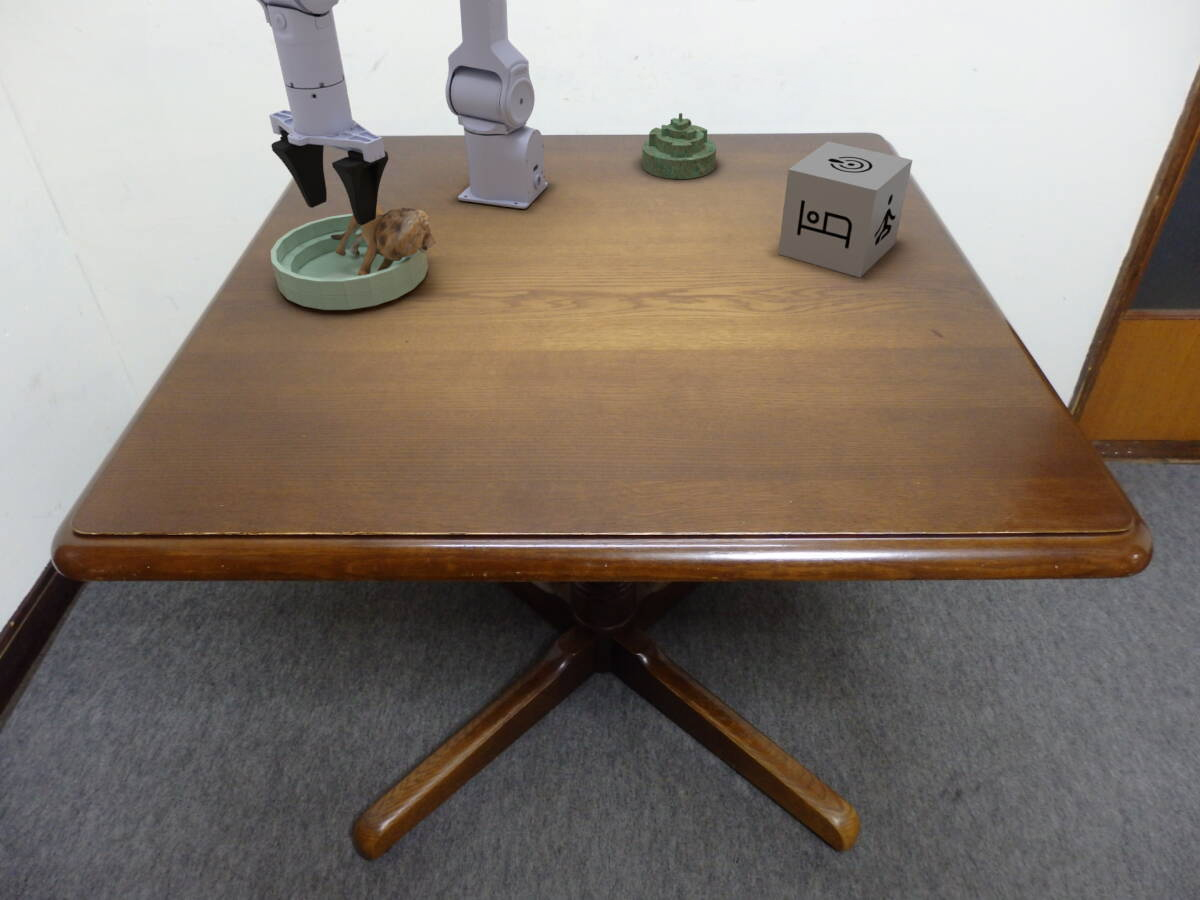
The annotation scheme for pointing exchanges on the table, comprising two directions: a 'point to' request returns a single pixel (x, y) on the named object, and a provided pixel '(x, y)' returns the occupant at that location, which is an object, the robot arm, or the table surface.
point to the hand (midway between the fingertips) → (341, 212)
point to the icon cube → (843, 207)
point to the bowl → (338, 269)
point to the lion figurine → (388, 237)
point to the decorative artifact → (678, 151)
